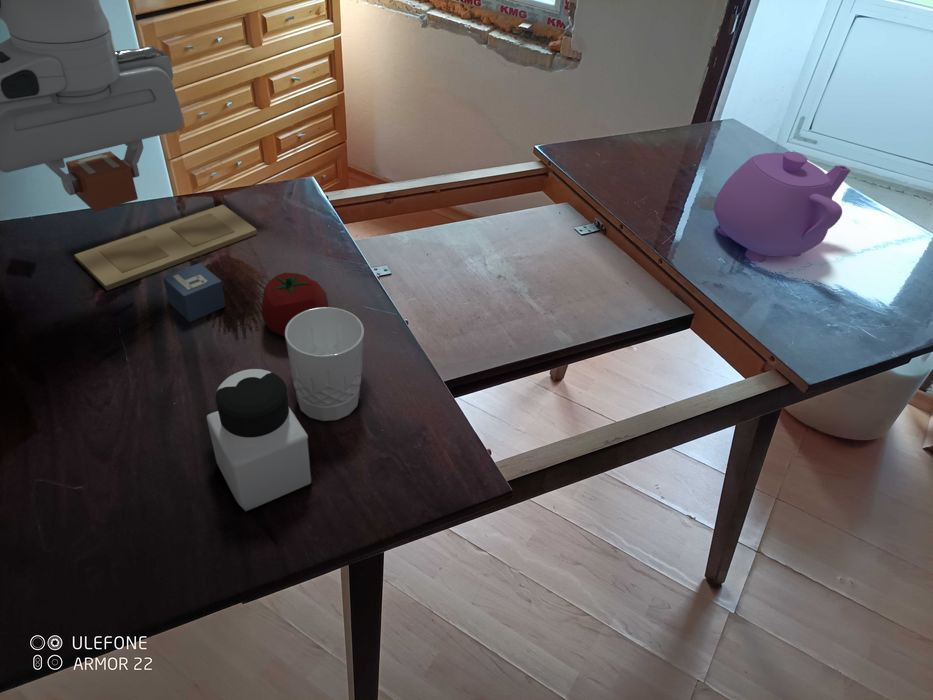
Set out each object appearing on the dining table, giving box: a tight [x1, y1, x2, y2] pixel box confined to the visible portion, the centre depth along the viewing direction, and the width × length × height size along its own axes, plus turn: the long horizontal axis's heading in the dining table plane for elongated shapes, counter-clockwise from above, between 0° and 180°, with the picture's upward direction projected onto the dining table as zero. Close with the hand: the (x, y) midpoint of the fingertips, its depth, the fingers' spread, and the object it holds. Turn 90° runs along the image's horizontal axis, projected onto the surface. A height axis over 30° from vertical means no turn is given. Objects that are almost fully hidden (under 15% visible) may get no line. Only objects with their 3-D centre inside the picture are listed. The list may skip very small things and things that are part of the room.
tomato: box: [261, 272, 329, 338], centre depth 83 cm, size 8×8×7 cm
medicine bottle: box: [206, 368, 313, 512], centre depth 64 cm, size 7×7×12 cm
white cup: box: [284, 306, 365, 422], centre depth 73 cm, size 8×8×10 cm
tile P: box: [162, 262, 227, 323], centre depth 85 cm, size 5×5×4 cm
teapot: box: [713, 151, 852, 263], centre depth 106 cm, size 20×20×15 cm
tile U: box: [65, 150, 139, 213], centre depth 78 cm, size 5×5×4 cm
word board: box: [73, 204, 258, 291], centre depth 95 cm, size 9×22×1 cm, turn 136°
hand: (102, 184), depth 78 cm, fingers closed on tile U, 5 cm apart
